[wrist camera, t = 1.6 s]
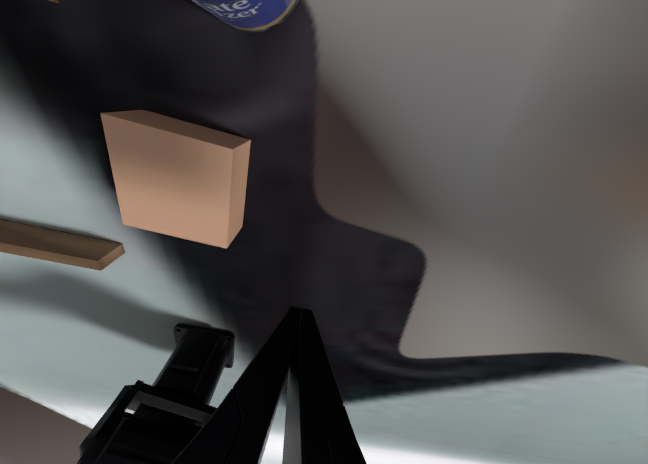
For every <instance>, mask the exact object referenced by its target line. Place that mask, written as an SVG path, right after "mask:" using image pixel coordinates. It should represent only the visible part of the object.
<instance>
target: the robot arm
mask: <svg viewBox="0 0 648 464" xmlns="http://www.w3.org/2000/svg"><path fill="white" fill-rule="evenodd" d="M174 334H175V340H176V348H175V350H174V351H173V353H172V354H171V356H170V358H169V359H168V361H167V362H166V364H165V366H164V367H163V369H162V370H161V372H160V374H159V375H158V377H157V378H156V380H155V382H154V383H153V385H152V386H151V385H148V384H145V383H144V382H143V381H140V380H138V381H137V382H136V383H135V385H126V386H124V388H123V389H122V391H121V392H120V393H119V395H118V396H117V398H116V399H115V400H114V402H113V403H112V404H111V406H110V407H109V408H108V410H107V411H106V412H105V414H104V415H103V416H102V418H101V419H100V420H99V421H98V423H97V424H96V425H95V427H94V428H93V429H92V430H91V432H90V433H89V434H88V436H87V437H86V438H85V440H84V441H83V442H82V444H81V445H80V447H79V449H80V459H79V461H78V463H77V464H260V463H261V460H262V456H263V453H264V450H265V446H266V443H267V440H268V436H269V433H270V430H271V426H272V423H273V420H274V416H275V413H276V410H277V406H278V403H279V400H280V396H281V393H282V390H283V386H284V383H285V380H286V376H287V373H288V369H289V375H288V389H287V404H286V419H285V433H284V448H283V462H282V464H366V461H365V459H364V457H363V454H362V452H361V449H360V447H359V445H358V442H357V440H356V437H355V435H354V432H353V429H352V426H351V424H350V421H349V418H348V415H347V412H346V409H345V406H343V401H342V398H341V395H340V392H339V389H338V386H337V383H336V380H335V377H334V374H333V371H332V368H331V365H330V362H329V359H328V356H327V353H326V350H325V347H324V344H323V341H322V338H321V335H320V332H319V329H318V327H317V324H316V321H315V318H314V315H313V312H312V310H310V309H304V308H302V309H300V308H299V307H294V306H291V307H289V309H288V310H287V311H286V313H285V314H284V316H283V317H282V318H281V320H280V321H279V323H278V324H277V326H276V327H275V328H274V330H273V331H272V333H271V334H270V335H269V337H268V338H267V340H266V341H265V342H264V344H263V345H262V347H261V348H260V350H259V351H258V352H257V354H256V355H255V357H254V358H253V359H252V361H251V362H250V364H249V365H248V366H247V368H246V369H245V371H244V372H243V374H242V375H241V376H240V378H239V379H238V381H237V382H236V383H235V385H234V386H233V389H231V390H230V392H229V393H228V394H227V396H226V397H225V399H224V400H223V401H222V403H221V404H220V405H219V407H218V408H215V407H213V406H210V405H209V404H210V401H211V399H212V396H213V394H214V391H215V389H216V386H217V384H218V381H219V379H220V376H221V374H222V371H223V369H224V367H226V368H231V367H232V366H233V362H234V340H235V336H234V334H232V333H228V332H222V331H216V330H211V329H205V328H199V327H193V326H188V325H182V324H177V325H176V326H175V328H174ZM289 365H290V366H289ZM126 409H130V410H133V411H135V412H134V414H131V413H127V412H125V411H126Z"/></svg>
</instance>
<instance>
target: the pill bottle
mask: <svg viewBox="0 0 648 464" xmlns="http://www.w3.org/2000/svg"><path fill="white" fill-rule="evenodd" d="M191 1H193V2H194V3H195V4H197V5H199V6H200V7H202V8H203V9H205V10H206V11H208V12H209V13H211V14H212V15H214V16H215V17H217V18H218V19H219V20H221V21H222V22H224V23H226V24H227V25H229V26H231V27H233V28H236V29H239V30H241V31H245V32H252V33H255V32H263V31H265V30H267V29H269V28H270V27H271V26H273V25H276V24H280V23H282V22H283V21H284V20H285V19H286V18H287V17H288V16H289V15H290V13H291V12H292V11H293V10H294V8H295V6H296V5H297V3H298V1H299V0H191Z"/></svg>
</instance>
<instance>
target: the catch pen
mask: <svg viewBox="0 0 648 464" xmlns="http://www.w3.org/2000/svg"><path fill="white" fill-rule="evenodd" d="M47 1H51V2H55V3H58V4H59V2H58V0H47ZM0 252H4V253H10V254H15V255H20V256H26V257H31V258H36V259H42V260H47V261H52V262H58V263H63V264H68V265H74V266H79V267H84V268H90V269H95V270H103V269H104V268H105V267H106V266H108V265H109V264H110V263H112V262H113V261H114V260H116V259H117V258H118V257H120V256H121V255H122V254H124V253H125V252H124V248H123V244H121V243H116V242H111V241H106V240H101V239H96V238H91V237H86V236H81V235H76V234H71V233H66V232H61V231H55V230H50V229H45V228H40V227H35V226H30V225H25V224H20V223H15V222H10V221H5V220H0Z"/></svg>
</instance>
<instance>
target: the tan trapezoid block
mask: <svg viewBox="0 0 648 464" xmlns="http://www.w3.org/2000/svg"><path fill="white" fill-rule="evenodd" d="M100 114H101V119H102V123H103V128H104V133H105V138H106V143H107V148H108V153H109V158H110V163H111V167H112V172H113V177H114V182H115V187H116V192H117V197H118V202H119V207H120V211H121V216H122V221H123V225H128V226H132V227H136V228H141V229H145V230H149V231H153V232H158V233H162V234H166V235H171V236H175V237H179V238H184V239H188V240H192V241H197V242H201V243H205V244H209V245H214V246H218V247H222V248H228V246H229V245H230V243H231V242H232V240H233V239H234V238H235V236H236V235H237V233H238V232H239V230H240V229H241V228H242V224H243V214H244V204H245V194H246V183H247V173H248V163H249V152H250V142H251V140H250V139H246V138H243V137H239V136H235V135H232V134H228V133H225V132H221V131H218V130H214V129H210V128H207V127H203V126H200V125H196V124H193V123H189V122H185V121H182V120H178V119H175V118H171V117H168V116H164V115H160V114H157V113H153V112H150V111H146V110H132V111H120V112H107V113H100Z"/></svg>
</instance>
